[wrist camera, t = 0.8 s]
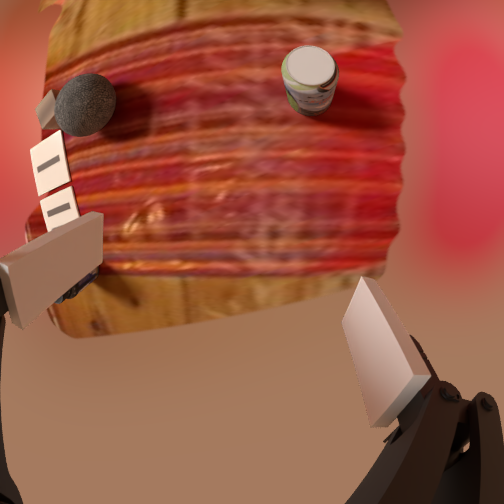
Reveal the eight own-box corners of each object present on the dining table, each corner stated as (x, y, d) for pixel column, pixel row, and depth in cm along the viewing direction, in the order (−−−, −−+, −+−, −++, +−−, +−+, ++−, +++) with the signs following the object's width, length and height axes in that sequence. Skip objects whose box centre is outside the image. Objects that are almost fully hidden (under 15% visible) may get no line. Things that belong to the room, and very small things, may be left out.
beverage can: (313, 125, 35) (329, 114, 24) (270, 94, 34) (268, 70, 22) (339, 94, 33) (364, 72, 21) (297, 63, 32) (304, 30, 20)
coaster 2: (41, 200, 42) (39, 201, 41) (72, 185, 40) (70, 186, 40) (54, 247, 45) (53, 248, 45) (86, 238, 44) (85, 239, 43)
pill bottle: (77, 245, 44) (39, 267, 34) (101, 256, 45) (65, 282, 34) (75, 272, 46) (41, 298, 36) (99, 284, 47) (66, 313, 36)
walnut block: (52, 110, 36) (35, 109, 31) (68, 92, 34) (51, 89, 30) (60, 129, 37) (42, 129, 32) (77, 111, 36) (59, 109, 31)
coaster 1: (31, 149, 38) (29, 149, 38) (61, 129, 37) (60, 129, 36) (40, 195, 41) (38, 196, 41) (71, 180, 40) (69, 181, 40)
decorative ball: (72, 119, 36) (33, 118, 27) (102, 70, 33) (65, 58, 24) (105, 147, 38) (66, 150, 28) (138, 96, 35) (103, 85, 25)
